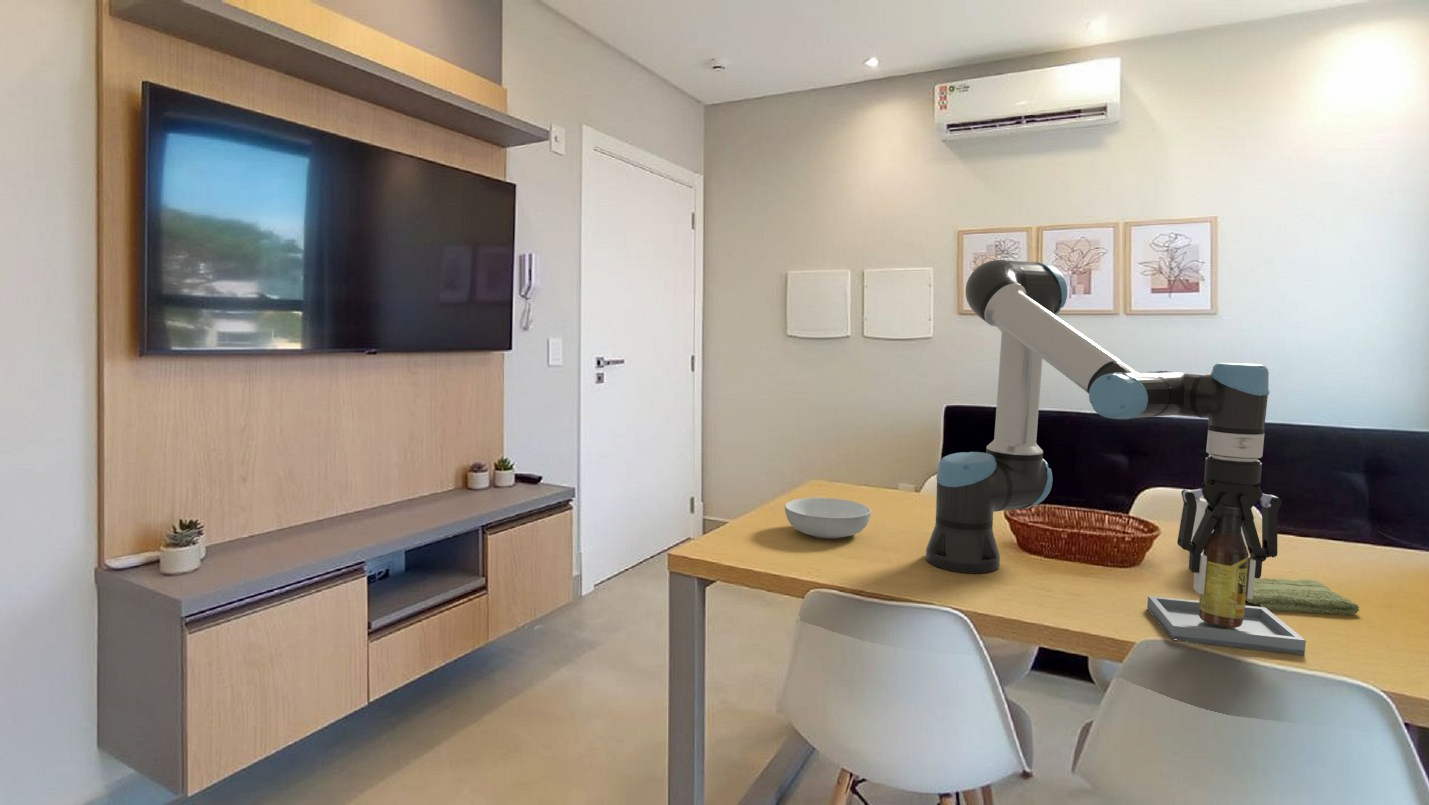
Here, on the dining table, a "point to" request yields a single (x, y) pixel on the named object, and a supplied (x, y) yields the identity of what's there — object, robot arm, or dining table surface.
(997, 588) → the dining table surface
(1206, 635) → the tray
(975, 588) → the dining table surface
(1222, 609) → the sauce bottle
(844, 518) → the serving bowl
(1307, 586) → the washcloth
